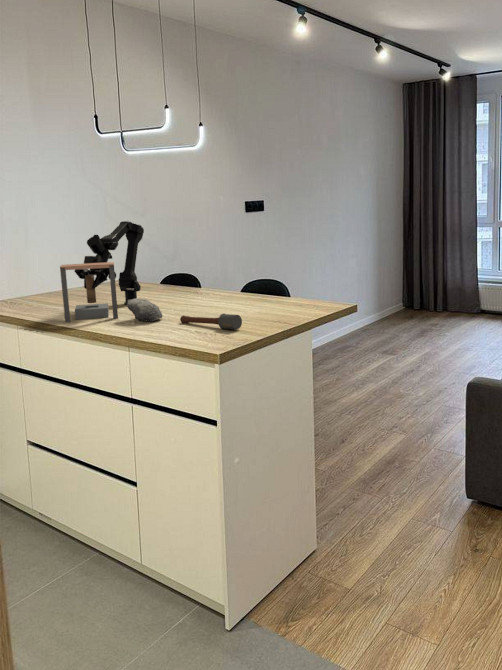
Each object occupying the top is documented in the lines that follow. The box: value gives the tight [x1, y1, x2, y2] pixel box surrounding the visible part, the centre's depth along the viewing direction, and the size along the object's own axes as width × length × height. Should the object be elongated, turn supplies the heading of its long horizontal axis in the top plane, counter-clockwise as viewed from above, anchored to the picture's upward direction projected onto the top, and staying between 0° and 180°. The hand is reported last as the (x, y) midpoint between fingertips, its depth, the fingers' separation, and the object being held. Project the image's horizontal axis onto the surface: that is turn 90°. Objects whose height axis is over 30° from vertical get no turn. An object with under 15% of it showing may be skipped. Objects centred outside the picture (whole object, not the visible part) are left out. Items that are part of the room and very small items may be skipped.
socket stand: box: [59, 261, 119, 323], centre depth 276 cm, size 19×22×24 cm
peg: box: [85, 275, 97, 304], centre depth 278 cm, size 4×4×12 cm
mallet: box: [179, 313, 243, 330], centre depth 248 cm, size 6×6×30 cm
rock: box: [126, 298, 164, 323], centre depth 265 cm, size 11×17×10 cm, turn 45°
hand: (88, 288), depth 277 cm, fingers closed on peg, 4 cm apart
